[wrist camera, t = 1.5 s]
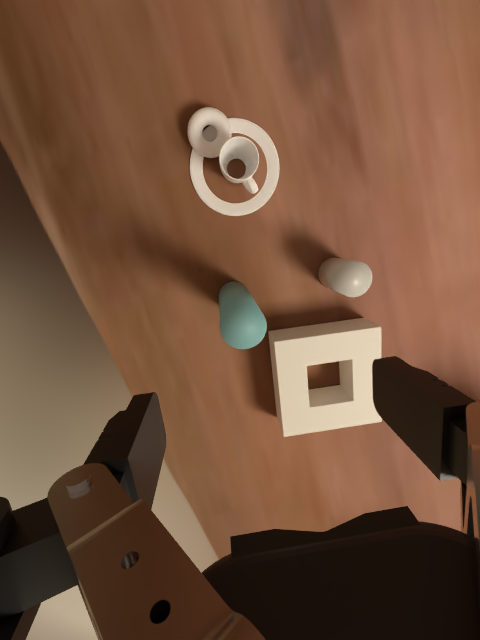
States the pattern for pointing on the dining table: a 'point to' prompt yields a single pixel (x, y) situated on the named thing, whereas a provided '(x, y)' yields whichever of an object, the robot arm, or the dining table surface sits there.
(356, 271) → the short pin
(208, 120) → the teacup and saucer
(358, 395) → the hole block
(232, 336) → the long pin
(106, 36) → the dining table surface
